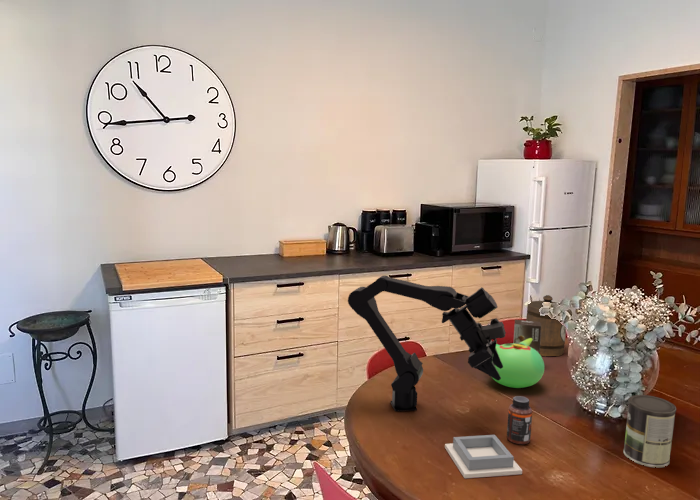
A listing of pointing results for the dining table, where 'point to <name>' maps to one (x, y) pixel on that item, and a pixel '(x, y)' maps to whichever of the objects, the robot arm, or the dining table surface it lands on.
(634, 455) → the coffee can
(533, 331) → the coffee box
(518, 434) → the supplement bottle
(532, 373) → the toy bird
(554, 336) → the wooden container
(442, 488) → the dining table surface
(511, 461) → the cup holder
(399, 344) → the robot arm
